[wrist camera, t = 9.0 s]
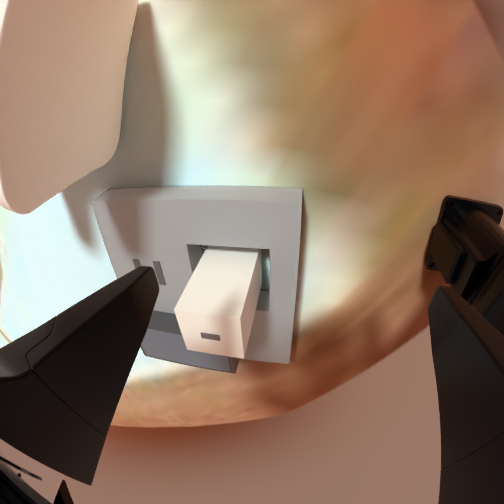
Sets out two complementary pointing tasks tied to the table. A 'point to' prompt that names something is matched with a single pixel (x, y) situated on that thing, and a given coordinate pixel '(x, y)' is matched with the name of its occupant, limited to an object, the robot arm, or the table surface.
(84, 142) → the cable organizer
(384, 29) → the table surface
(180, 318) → the block
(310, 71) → the table surface
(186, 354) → the gray flat block
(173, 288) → the outlet board
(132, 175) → the table surface
